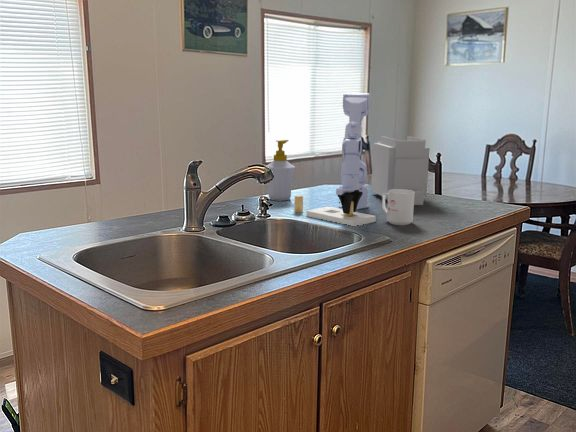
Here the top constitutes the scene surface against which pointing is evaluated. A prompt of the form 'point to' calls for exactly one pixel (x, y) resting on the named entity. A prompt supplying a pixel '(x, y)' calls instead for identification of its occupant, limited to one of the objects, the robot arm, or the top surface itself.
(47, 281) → the top surface
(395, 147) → the light grey angular block
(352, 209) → the peg
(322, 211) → the housing
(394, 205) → the mug
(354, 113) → the robot arm
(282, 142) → the soap bottle
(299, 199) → the peg
